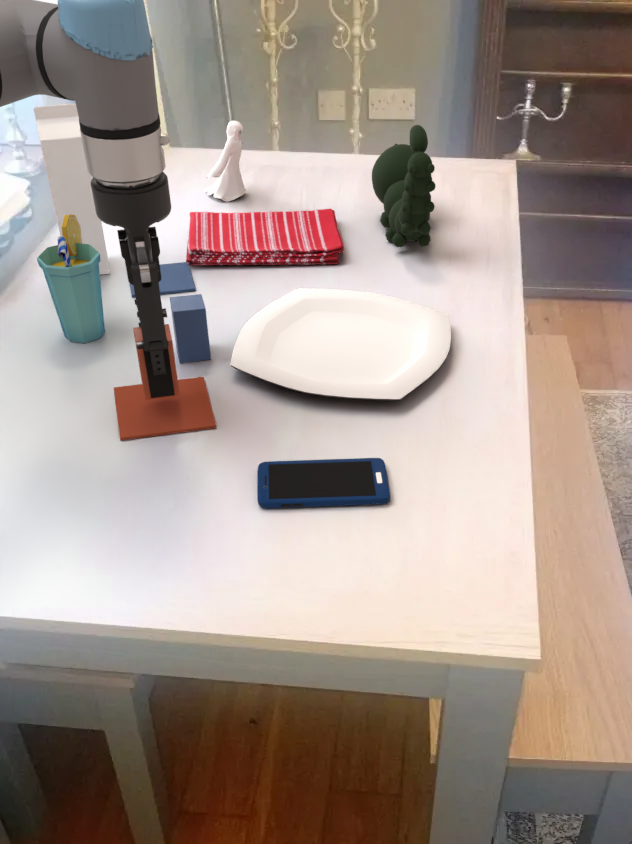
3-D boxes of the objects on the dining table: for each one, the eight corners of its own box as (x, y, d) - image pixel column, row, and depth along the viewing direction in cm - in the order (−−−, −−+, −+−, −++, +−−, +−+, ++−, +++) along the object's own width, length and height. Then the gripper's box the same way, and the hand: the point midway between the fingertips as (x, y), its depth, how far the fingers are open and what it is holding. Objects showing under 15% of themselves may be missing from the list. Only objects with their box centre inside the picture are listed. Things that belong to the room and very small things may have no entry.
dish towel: (345, 265, 134) (345, 248, 132) (185, 267, 133) (184, 250, 131) (336, 220, 146) (336, 203, 144) (190, 221, 145) (188, 204, 143)
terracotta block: (145, 400, 103) (135, 344, 98) (142, 382, 106) (132, 327, 101) (180, 396, 104) (172, 340, 99) (176, 378, 106) (168, 323, 101)
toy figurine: (443, 271, 137) (420, 194, 153) (458, 143, 122) (430, 72, 138) (382, 273, 136) (365, 195, 152) (390, 144, 122) (369, 73, 138)
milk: (110, 274, 132) (82, 110, 116) (68, 279, 131) (34, 114, 115) (106, 256, 136) (78, 96, 120) (65, 261, 135) (32, 99, 119)
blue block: (179, 363, 114) (172, 311, 109) (176, 348, 117) (169, 296, 112) (211, 359, 115) (205, 308, 110) (206, 344, 117) (201, 293, 112)
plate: (413, 428, 104) (414, 413, 103) (203, 384, 110) (202, 369, 109) (470, 322, 122) (472, 309, 120) (287, 290, 128) (286, 277, 127)
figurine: (239, 206, 150) (234, 129, 142) (195, 200, 152) (187, 124, 143) (254, 189, 155) (250, 114, 147) (212, 184, 157) (205, 109, 148)
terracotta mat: (120, 440, 102) (119, 437, 102) (114, 390, 109) (113, 387, 109) (216, 428, 104) (216, 425, 103) (204, 379, 111) (203, 376, 111)
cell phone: (391, 504, 94) (391, 498, 93) (257, 509, 93) (257, 503, 92) (384, 462, 99) (384, 456, 98) (257, 466, 98) (257, 461, 98)
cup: (116, 360, 114) (94, 244, 104) (53, 366, 113) (25, 249, 103) (112, 309, 124) (92, 198, 114) (55, 314, 123) (29, 202, 112)
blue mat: (132, 297, 127) (131, 295, 126) (127, 270, 133) (126, 267, 133) (195, 291, 128) (195, 288, 128) (188, 264, 134) (187, 261, 134)
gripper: (176, 203, 83) (202, 420, 99) (158, 142, 94) (184, 344, 111) (93, 211, 81) (133, 429, 98) (85, 147, 93) (122, 351, 109)
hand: (160, 384), depth 104 cm, fingers closed on terracotta block, 4 cm apart
